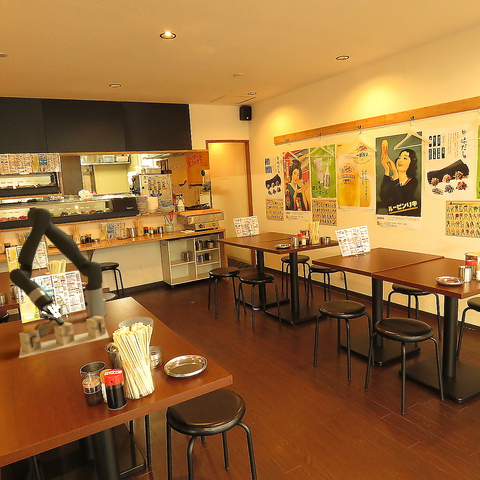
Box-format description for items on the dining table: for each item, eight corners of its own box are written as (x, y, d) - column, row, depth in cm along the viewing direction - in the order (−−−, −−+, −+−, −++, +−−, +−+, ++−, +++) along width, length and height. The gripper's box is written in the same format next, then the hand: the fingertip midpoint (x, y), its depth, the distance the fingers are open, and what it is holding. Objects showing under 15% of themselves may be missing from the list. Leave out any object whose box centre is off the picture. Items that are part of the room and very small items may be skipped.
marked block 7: (34, 346, 192) (31, 328, 191) (41, 348, 189) (38, 330, 187) (22, 351, 187) (19, 333, 186) (29, 353, 184) (26, 335, 182)
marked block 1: (98, 332, 205) (96, 315, 204) (106, 333, 202) (104, 317, 200) (88, 336, 200) (86, 319, 199) (96, 338, 197) (94, 321, 195)
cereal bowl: (119, 345, 189) (117, 331, 188) (120, 332, 204) (118, 320, 203) (155, 339, 193) (153, 325, 192) (153, 327, 209) (152, 314, 208)
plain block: (67, 338, 199) (64, 321, 197) (74, 340, 195) (72, 323, 194) (56, 343, 194) (53, 326, 192) (63, 345, 190) (61, 327, 189)
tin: (37, 341, 201) (35, 325, 200) (34, 340, 203) (32, 324, 202) (65, 331, 213) (63, 316, 212) (62, 330, 215) (60, 315, 214)
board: (105, 330, 209) (105, 328, 209) (109, 339, 197) (109, 337, 197) (21, 349, 192) (20, 347, 192) (19, 360, 180) (18, 357, 180)
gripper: (32, 298, 188) (55, 323, 185) (54, 290, 200) (76, 314, 197) (26, 308, 191) (48, 333, 188) (48, 299, 203) (69, 323, 200)
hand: (62, 323), depth 193 cm, fingers closed
